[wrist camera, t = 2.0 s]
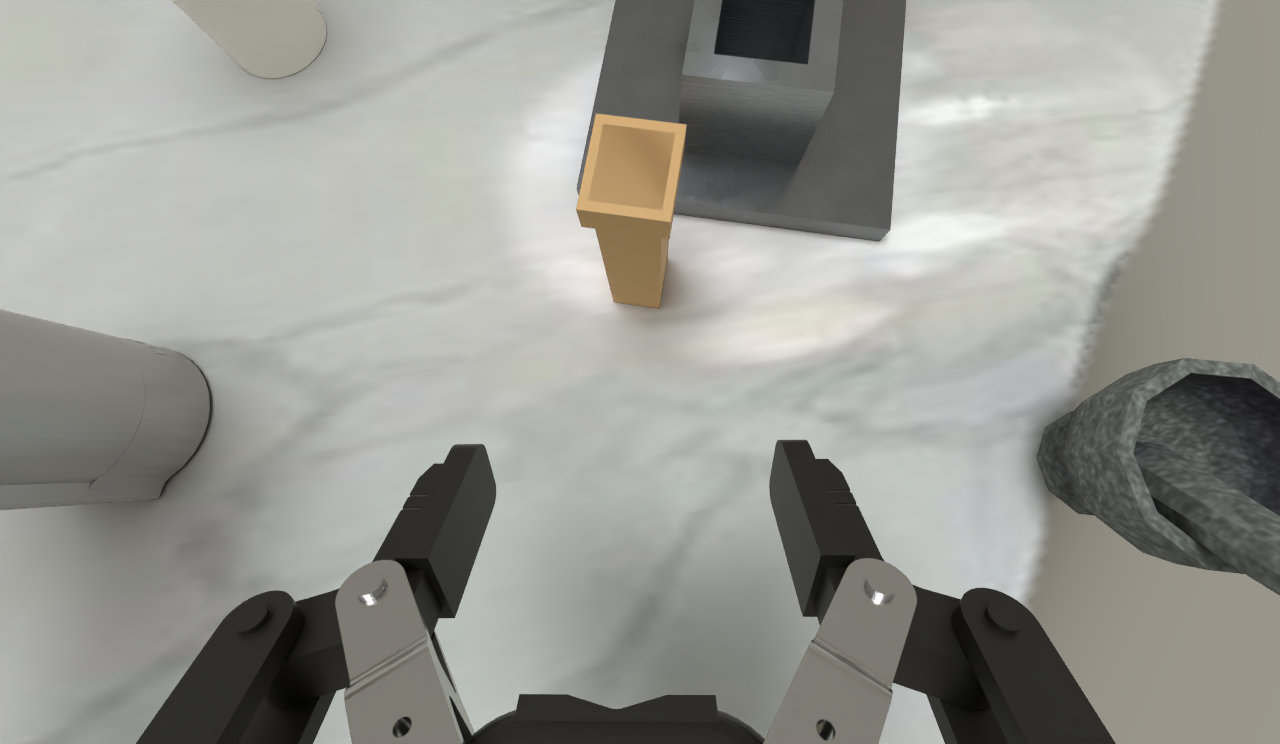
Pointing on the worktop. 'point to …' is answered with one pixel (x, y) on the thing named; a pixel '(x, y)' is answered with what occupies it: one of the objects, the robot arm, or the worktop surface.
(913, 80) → the worktop surface
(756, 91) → the grey fixture with cylinder
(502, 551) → the worktop surface
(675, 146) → the orange square peg
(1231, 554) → the mortar and pestle
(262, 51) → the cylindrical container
